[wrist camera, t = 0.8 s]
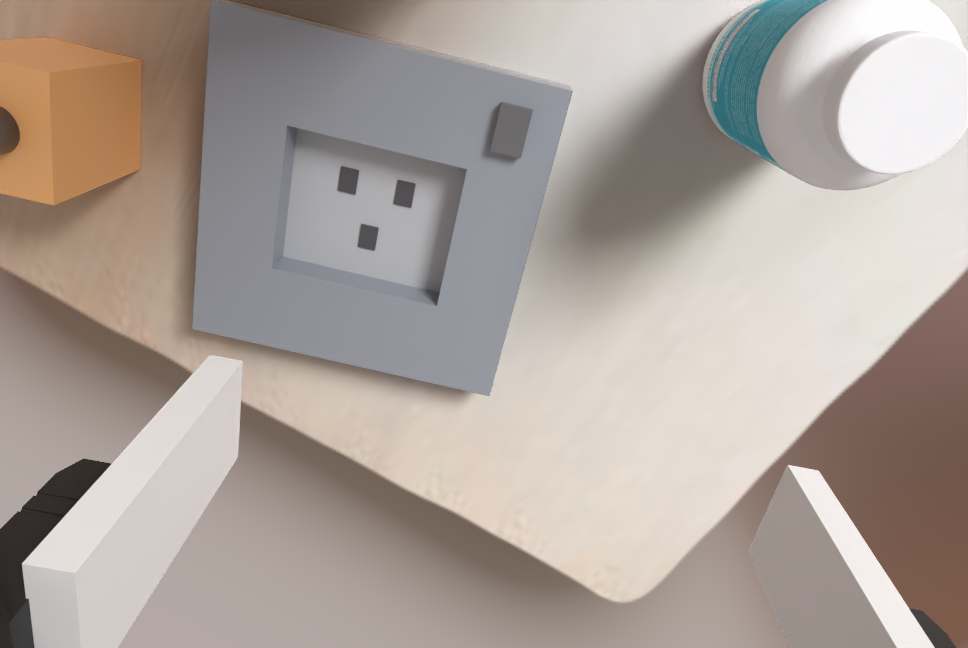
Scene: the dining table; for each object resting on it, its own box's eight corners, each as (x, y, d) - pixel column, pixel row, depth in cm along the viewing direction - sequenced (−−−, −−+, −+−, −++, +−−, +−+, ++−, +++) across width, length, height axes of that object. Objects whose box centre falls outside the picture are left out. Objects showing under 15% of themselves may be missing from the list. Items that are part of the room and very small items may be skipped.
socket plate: (230, 0, 35) (205, -1, 32) (569, 85, 36) (573, 92, 33) (209, 312, 43) (187, 333, 40) (490, 376, 44) (488, 401, 41)
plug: (48, 37, 36) (-130, 47, 26) (142, 60, 37) (1, 79, 27) (52, 148, 39) (-110, 196, 29) (140, 169, 39) (10, 223, 29)
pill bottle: (705, 159, 38) (796, 232, 25) (691, 15, 35) (785, 17, 22) (849, 128, 36) (1016, 189, 24) (846, -24, 34) (1035, -43, 21)
